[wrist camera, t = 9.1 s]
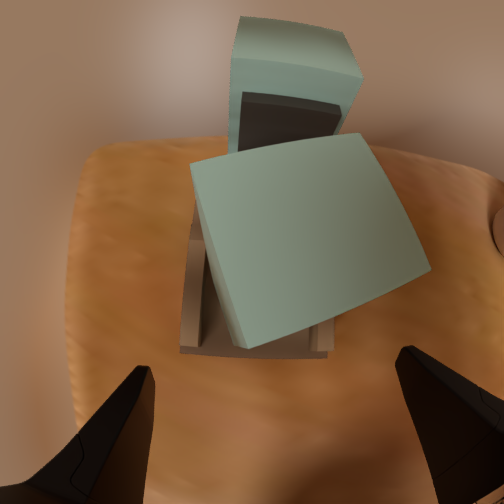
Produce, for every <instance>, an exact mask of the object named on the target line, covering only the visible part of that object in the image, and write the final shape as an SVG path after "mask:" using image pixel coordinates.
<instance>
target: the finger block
mask: <svg viewBox="0 0 504 504" xmlns="http://www.w3.org/2000/svg"><path fill="white" fill-rule="evenodd" d="M190 169H191V175H192V181H193V186H194V191H195V197H196V202H197V207H198V212H199V217H200V223H201V227H202V232H203V237H204V242H205V247H206V252H207V256H208V261H209V265H210V270H211V274H212V279H213V283H214V286H215V290H216V293H217V296H218V299H219V302H220V305H221V308H222V311H223V314H224V317H225V320H226V323H227V326H228V329H229V332H230V335H231V338H232V341H233V344H234V346H238V347H242V348H246V349H250V348H253V347H256V346H259V345H262V344H264V343H267V342H270V341H273V340H276V339H278V338H281V337H284V336H287V335H289V334H292V333H295V332H297V331H300V330H302V329H305V328H308V327H310V326H313V325H315V324H318V323H320V322H323V321H325V320H327V319H330V318H332V317H335V316H337V315H339V314H342V313H344V312H346V311H349V310H351V309H353V308H355V307H358V306H360V305H362V304H364V303H367V302H369V301H371V300H373V299H375V298H377V297H379V296H382V295H384V294H386V293H388V292H390V291H392V290H394V289H396V288H398V287H400V286H402V285H404V284H406V283H408V282H410V281H412V280H414V279H416V278H418V277H420V276H422V275H424V274H425V273H427V272H429V271H431V270H432V269H431V267H430V264H429V262H428V259H427V257H426V254H425V252H424V250H423V247H422V245H421V243H420V241H419V238H418V236H417V234H416V232H415V230H414V228H413V225H412V223H411V221H410V219H409V217H408V215H407V213H406V211H405V209H404V207H403V205H402V203H401V201H400V200H399V198H398V196H397V194H396V192H395V190H394V188H393V187H392V185H391V183H390V181H389V179H388V178H387V176H386V174H385V172H384V171H383V169H382V167H381V166H380V164H379V162H378V161H377V159H376V157H375V156H374V154H373V153H372V151H371V149H370V148H369V146H368V145H367V143H366V142H365V140H364V139H363V137H362V136H361V134H360V133H350V134H342V135H333V136H325V137H318V138H311V139H305V140H298V141H292V142H286V143H281V144H275V145H270V146H265V147H259V148H255V149H250V150H245V151H240V152H236V153H231V154H227V155H223V156H218V157H214V158H210V159H206V160H202V161H198V162H195V163H191V164H190Z"/></svg>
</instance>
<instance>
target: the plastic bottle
mask: <svg viewBox="0 0 504 504" xmlns="http://www.w3.org/2000/svg"><path fill="white" fill-rule="evenodd" d="M492 228H493V236H494V240H495V243H496V245H497V247H498V249H499V251H500V253H501V254H502V256H503V257H504V206H503V207H502V208H501V209H500V210H499V211H498V212H497V213H496V215H495V218H494V220H493V226H492Z"/></svg>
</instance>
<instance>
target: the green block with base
mask: <svg viewBox="0 0 504 504" xmlns="http://www.w3.org/2000/svg"><path fill="white" fill-rule="evenodd" d="M363 80H364V78H363V75H362V73H361V71H360V69H359V66H358V64H357V61H356V59H355V57H354V55H353V53H352V51H351V48H350V46H349V44H348V42H347V40H346V38H345V36H344V34H343V32H340V31H335V30H331V29H327V28H322V27H318V26H313V25H308V24H302V23H296V22H290V21H283V20H276V19H267V18H256V17H243V16H241V17H240V20H239V24H238V29H237V33H236V37H235V42H234V47H233V51H232V56H231V71H230V96H229V99H230V100H229V127H228V130H229V131H228V154H231V153H236V152H240V151H245V150H250V149H255V148H259V147H265V146H270V145H275V144H281V143H286V142H292V141H298V140H305V139H311V138H318V137H325V136H333V135H337V134H338V132H339V130H340V128H341V126H342V124H343V122H344V120H345V118H346V116H347V114H348V112H349V110H350V108H351V105H352V103H353V101H354V99H355V97H356V95H357V93H358V91H359V89H360V87H361V84H362V82H363ZM179 345H180V353H185V354H195V355H207V356H220V357H236V358H260V359H322V358H327V351H334V317H332V318H330V319H327V320H325V321H323V322H320V323H318V324H315V325H313V326H310V327H308V328H305V329H302V330H300V331H297V332H295V333H292V334H289V335H287V336H284V337H281V338H278V339H276V340H273V341H270V342H267V343H264V344H262V345H259V346H256V347H253V348H250V349H246V348H242V347H238V346H234V344H233V341H232V338H231V335H230V332H229V329H228V326H227V323H226V320H225V317H224V314H223V311H222V308H221V305H220V302H219V299H218V296H217V293H216V290H215V286H214V283H213V279H212V274H211V270H210V265H209V261H208V256H207V252H206V247H205V242H204V237H203V232H202V227H201V223H200V217H199V212H198V207H197V202H196V201H195V208H194V215H193V222H192V224H191V231H190V238H189V246H188V255H187V263H186V272H185V282H184V292H183V303H182V315H181V327H180V342H179Z"/></svg>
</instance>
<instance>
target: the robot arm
mask: <svg viewBox="0 0 504 504" xmlns="http://www.w3.org/2000/svg"><path fill="white" fill-rule="evenodd" d="M395 368H396V371H397V374H398V378H399V381H400V385H401V388H402V392H403V395H404V399H405V402H406V404H407V407H408V409H409V412H410V415H411V417H412V420H413V423H414V426H415V428H416V431H417V434H418V437H419V440H420V442H421V445H422V448H423V451H424V454H425V457H426V461H427V464H428V467H429V470H430V473H431V477H432V480H433V484H434V488H435V491H436V495H437V499H438V503H439V504H473V503H476V504H504V401H503V400H501V399H500V398H498V397H496V396H494V395H492V394H490V393H489V392H487V391H485V390H484V389H482V388H481V387H478V386H477V385H476V384H474V383H473V382H471V381H469V380H468V379H466V378H465V377H463V376H461V375H460V374H458V373H457V372H455V371H453V370H452V369H450V368H448V367H447V366H445V365H444V364H442V363H440V362H439V361H437V360H436V359H434V358H432V357H431V356H429V355H428V354H426V353H424V352H423V351H421V350H419V349H418V348H416V347H415V346H413V345H409V346H405V347H403V348H402V349H401V351H400V353H399V355H398V357H397V360H396V362H395ZM154 401H155V380H154V378H153V375H152V372H151V369H150V367H149V366H142V365H138V366H136V367H135V369H134V370H133V371H132V372H131V373H130V374H129V375H128V376H127V377H126V379H125V380H124V381H123V382H122V383H121V384H120V385H119V386H118V388H117V389H116V390H115V391H114V392H113V393H112V394H111V395H110V397H109V398H108V399H107V400H106V401H105V402H104V403H103V405H102V406H101V407H100V408H99V409H98V410H97V411H96V412H95V414H94V415H93V416H92V417H91V418H90V419H89V420H88V422H87V423H86V424H85V425H84V426H83V427H82V428H81V429H80V431H79V432H78V434H76V435H75V436H74V437H73V438H72V440H71V441H70V442H69V443H68V444H67V445H66V446H65V447H64V449H62V450H61V451H60V452H59V453H58V454H57V455H56V456H55V457H54V458H53V459H52V460H51V461H49V463H47V464H46V465H45V466H44V467H43V468H41V469H40V470H39V471H38V472H37V473H36V474H34V475H33V476H32V477H31V478H29V479H28V480H26V481H24V482H22V483H19V484H14V485H8V486H2V487H0V504H143V497H144V488H145V480H146V472H147V465H148V457H149V451H150V444H151V438H152V431H153V422H154Z"/></svg>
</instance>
